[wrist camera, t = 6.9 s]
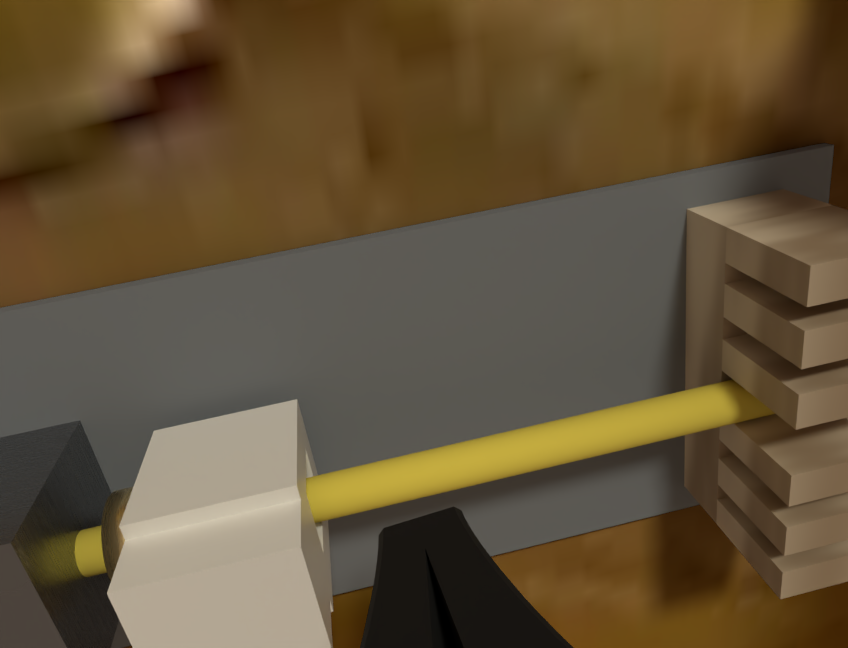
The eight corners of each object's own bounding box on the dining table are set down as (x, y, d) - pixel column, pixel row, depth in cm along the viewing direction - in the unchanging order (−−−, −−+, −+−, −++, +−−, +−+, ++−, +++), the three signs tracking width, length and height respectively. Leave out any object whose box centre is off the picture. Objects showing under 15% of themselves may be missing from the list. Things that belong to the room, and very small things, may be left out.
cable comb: (783, 189, 20) (935, 238, 15) (764, 466, 24) (878, 573, 19) (686, 208, 19) (810, 266, 15) (684, 486, 24) (780, 599, 19)
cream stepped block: (297, 399, 19) (296, 532, 14) (327, 509, 21) (336, 665, 16) (153, 430, 19) (99, 579, 14) (196, 541, 20) (162, 709, 15)
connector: (152, 404, 19) (106, 520, 14) (203, 540, 21) (177, 678, 17) (-70, 452, 18) (-188, 589, 14) (5, 586, 21) (-77, 743, 16)
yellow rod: (769, 362, 20) (797, 381, 18) (767, 397, 20) (794, 418, 19) (5, 538, 18) (-14, 571, 17) (24, 572, 18) (6, 606, 17)
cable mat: (824, 142, 20) (834, 145, 19) (793, 472, 25) (801, 479, 24) (-144, 336, 17) (-154, 343, 17) (38, 659, 22) (34, 669, 22)
